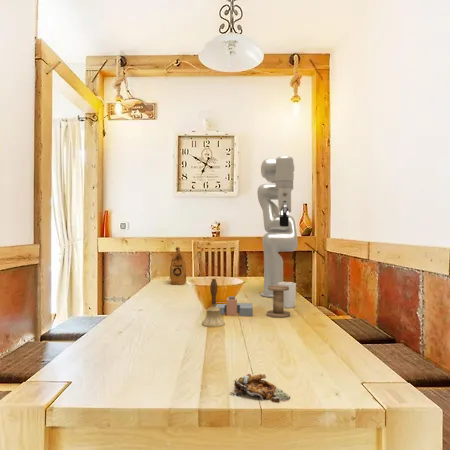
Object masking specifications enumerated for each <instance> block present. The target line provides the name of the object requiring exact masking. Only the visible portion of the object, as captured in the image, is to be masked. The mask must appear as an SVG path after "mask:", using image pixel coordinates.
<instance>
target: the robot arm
mask: <svg viewBox="0 0 450 450" xmlns="http://www.w3.org/2000/svg"><path fill="white" fill-rule="evenodd" d="M260 165H261V166H260V174H261V176H262V178H264V179H265V180H266V182H268V183H264V184H261V185H258V188H257V193H256V194H257V199H258V203H259V206H260V208H261V210H262V217H263V228H264V231H265V232H266V233H265V234H264V235H263V236H262V248H263V291H261V292H260V295H261V296H262V297H265V298H273V290H269V289H268V286H271V285H278V283H279V282H284V259H283V257H282V256H281V255H280V254H279V253H280V252H295V251H296V250H297V249H298V245H299V243H298V241H299V240H298V233H297V227H296V226H297V225H296V221H295V218H294V217H293V216H292V215H289V213H291V212H292V190H294V177H295V174H294V172H295V163H294V158H293V157H292V156H286V155H285V156H278V157H276V158H266V159H264V160H263V161H262V162H261V164H260ZM273 200H277V201H278V202H277V204H278V205H276V203H275V202H273Z"/></svg>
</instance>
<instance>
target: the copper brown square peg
mask: <svg viewBox="0 0 450 450" xmlns="http://www.w3.org/2000/svg"><path fill="white" fill-rule="evenodd" d="M226 303H227V312H226V316H238V312H237V303H238V298H237V297H236V296H233V295H232V296H231V295H230V296H228V297H226Z"/></svg>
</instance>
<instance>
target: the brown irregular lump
mask: <svg viewBox="0 0 450 450" xmlns="http://www.w3.org/2000/svg"><path fill="white" fill-rule="evenodd" d="M266 378H267V376H266V374H265V373H264V374H262V373H260V374H255V375H252V374H251V373H248V374H246V375H244V376H243V377H239V378H238V379H237V378H235V379H234V384H233V385H234V387H235V389H236V392H237V393H233V392H232V391H231V392H229V395H230V396H236V397H242V392H244V391H245V393H247V394H248V395H250V396H251V397H252V396H259V397H260V398H261V401H263V402H264V401H270V402H273V403H280V402H289V401H290V397H291V396H290V395H289V393H286V392H285V391H284V390H282V389H281V388H277V386H276V385H275V384H273V383H271V382H269V381H267V380H264V379H266Z"/></svg>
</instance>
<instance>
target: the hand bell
mask: <svg viewBox="0 0 450 450" xmlns="http://www.w3.org/2000/svg"><path fill="white" fill-rule="evenodd" d="M209 287H210V288H209V290H210V291H209V292H210V295H211V302H210V303H211V304H210V305H211V306H210V307H208V308H207V310H206V315H205V318H204V320H203V321H202V322H201V325H202V326H205V327H208V326H209V327H210V328H216V327H215V326H220V327H223V325H224V326H225V325H226V323H225V321H224V320H223V317H222V316H221V314H220V309H219V308H217V307H216V303H217V294H218V289H219V287H218V283H217V279H216V278H212V279H211V282H210V285H209Z"/></svg>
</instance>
